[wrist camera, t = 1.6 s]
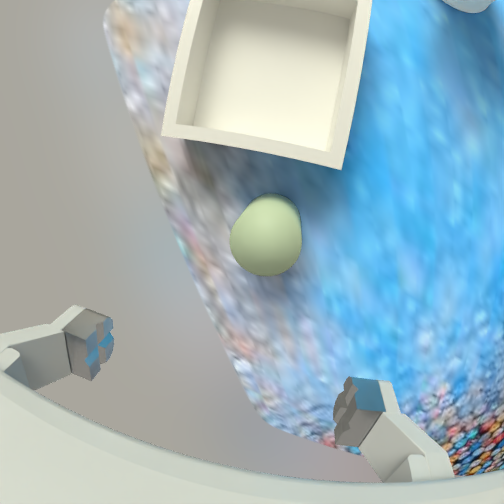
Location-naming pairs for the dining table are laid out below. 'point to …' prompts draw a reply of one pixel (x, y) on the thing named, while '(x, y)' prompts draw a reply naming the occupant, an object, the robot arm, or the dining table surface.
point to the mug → (469, 5)
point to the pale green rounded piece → (267, 235)
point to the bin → (269, 76)
